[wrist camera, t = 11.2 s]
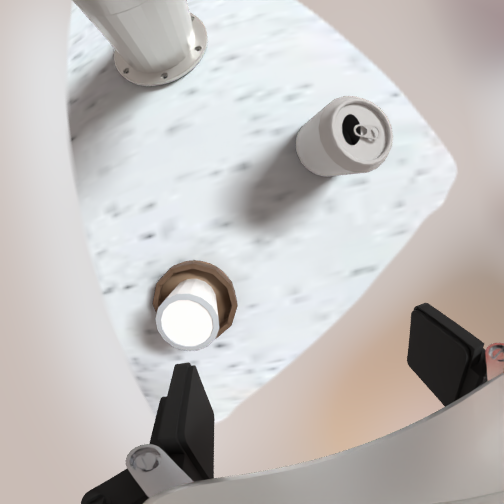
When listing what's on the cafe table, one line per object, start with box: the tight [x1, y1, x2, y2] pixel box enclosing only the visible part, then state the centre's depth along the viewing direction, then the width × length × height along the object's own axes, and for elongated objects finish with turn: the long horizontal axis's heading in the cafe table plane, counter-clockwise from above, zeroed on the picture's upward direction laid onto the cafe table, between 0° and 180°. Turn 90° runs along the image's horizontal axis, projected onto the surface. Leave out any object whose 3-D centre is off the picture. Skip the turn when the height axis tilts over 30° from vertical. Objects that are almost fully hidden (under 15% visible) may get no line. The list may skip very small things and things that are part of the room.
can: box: [296, 96, 393, 177], centre depth 27 cm, size 8×8×12 cm
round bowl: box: [153, 260, 237, 338], centre depth 35 cm, size 10×10×2 cm
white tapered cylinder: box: [155, 279, 219, 351], centre depth 32 cm, size 7×7×7 cm
